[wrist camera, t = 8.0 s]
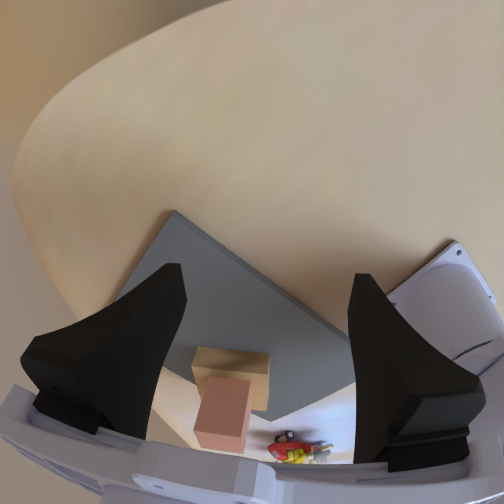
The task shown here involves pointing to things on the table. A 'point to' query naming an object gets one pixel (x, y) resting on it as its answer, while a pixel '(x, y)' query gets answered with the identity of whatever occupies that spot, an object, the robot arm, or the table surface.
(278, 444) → the toy airplane
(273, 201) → the table surface
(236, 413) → the pillar
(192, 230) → the board
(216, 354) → the slab
